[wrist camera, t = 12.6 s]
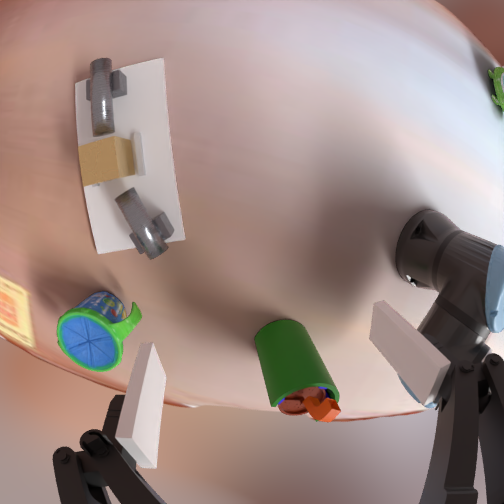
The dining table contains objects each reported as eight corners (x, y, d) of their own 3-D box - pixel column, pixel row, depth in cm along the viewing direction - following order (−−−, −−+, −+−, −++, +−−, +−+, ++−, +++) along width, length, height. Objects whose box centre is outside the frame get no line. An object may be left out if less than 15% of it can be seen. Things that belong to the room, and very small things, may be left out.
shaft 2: (178, 236, 38) (173, 247, 33) (149, 252, 38) (140, 265, 33) (147, 180, 35) (136, 183, 30) (118, 199, 35) (104, 205, 30)
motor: (246, 352, 47) (266, 443, 28) (268, 312, 45) (303, 401, 26) (294, 363, 50) (328, 445, 31) (317, 327, 48) (366, 406, 29)
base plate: (164, 59, 31) (162, 55, 29) (185, 237, 39) (184, 241, 37) (78, 84, 29) (72, 81, 27) (100, 252, 38) (95, 256, 36)
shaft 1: (95, 75, 29) (80, 65, 23) (126, 66, 29) (114, 53, 24) (98, 140, 32) (82, 138, 27) (130, 132, 32) (117, 127, 27)
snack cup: (135, 270, 40) (116, 302, 30) (158, 327, 43) (149, 366, 34) (61, 291, 39) (33, 320, 29) (86, 340, 42) (67, 375, 33)
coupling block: (99, 148, 32) (77, 146, 26) (130, 140, 33) (114, 135, 26) (103, 182, 34) (83, 186, 27) (135, 174, 34) (119, 177, 28)
